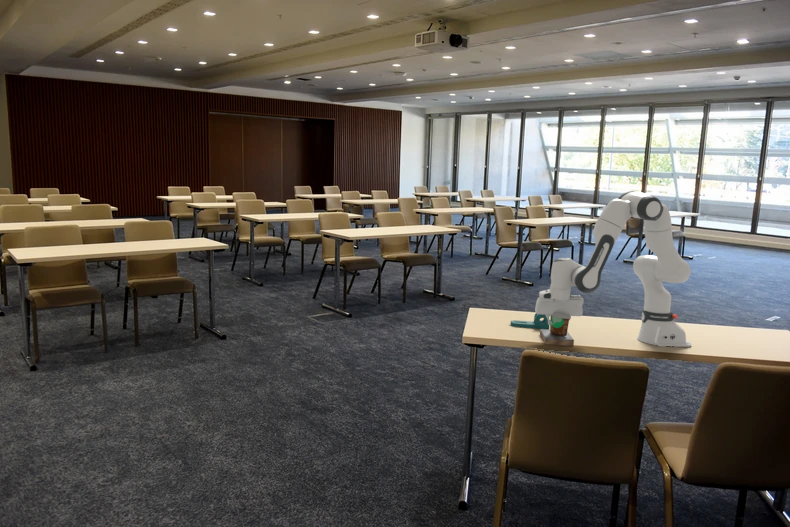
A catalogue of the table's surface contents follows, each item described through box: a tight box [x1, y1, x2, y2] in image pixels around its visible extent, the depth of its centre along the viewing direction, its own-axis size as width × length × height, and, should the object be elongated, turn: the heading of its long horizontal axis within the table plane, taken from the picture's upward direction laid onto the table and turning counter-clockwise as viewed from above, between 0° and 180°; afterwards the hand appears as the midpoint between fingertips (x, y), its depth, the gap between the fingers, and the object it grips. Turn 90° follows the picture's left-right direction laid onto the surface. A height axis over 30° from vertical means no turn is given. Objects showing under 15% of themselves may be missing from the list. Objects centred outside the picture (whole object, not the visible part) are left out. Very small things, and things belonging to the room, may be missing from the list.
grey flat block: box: [539, 329, 575, 347], centre depth 270 cm, size 12×16×3 cm
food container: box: [549, 312, 571, 336], centre depth 269 cm, size 12×6×10 cm, turn 12°
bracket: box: [510, 312, 550, 330], centre depth 294 cm, size 18×7×8 cm, turn 81°
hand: (557, 324), depth 269 cm, fingers closed on food container, 5 cm apart
